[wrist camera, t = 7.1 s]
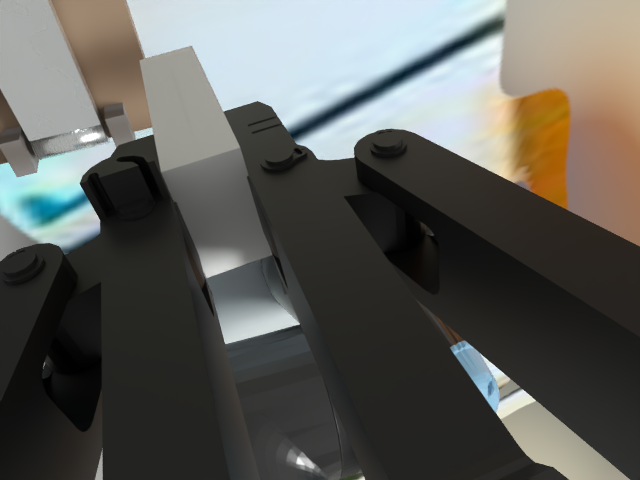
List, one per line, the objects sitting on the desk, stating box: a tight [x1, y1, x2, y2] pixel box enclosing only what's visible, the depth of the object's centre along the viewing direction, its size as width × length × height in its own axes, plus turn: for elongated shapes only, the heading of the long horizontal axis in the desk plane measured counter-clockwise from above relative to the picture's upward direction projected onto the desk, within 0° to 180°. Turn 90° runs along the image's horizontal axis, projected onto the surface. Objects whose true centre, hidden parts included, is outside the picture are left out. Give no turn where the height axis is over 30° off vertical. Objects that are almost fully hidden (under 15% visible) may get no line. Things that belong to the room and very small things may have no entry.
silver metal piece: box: [0, 0, 110, 160], centre depth 28 cm, size 18×4×2 cm, turn 6°
